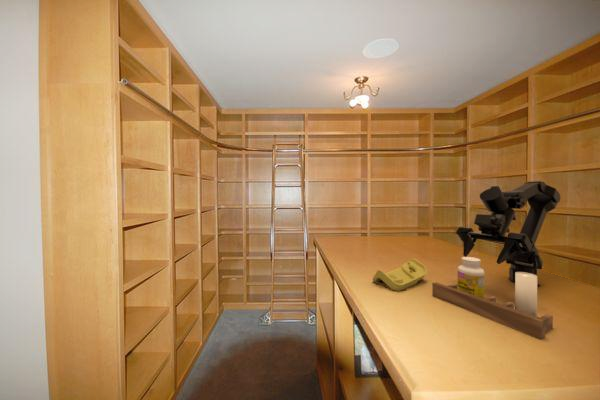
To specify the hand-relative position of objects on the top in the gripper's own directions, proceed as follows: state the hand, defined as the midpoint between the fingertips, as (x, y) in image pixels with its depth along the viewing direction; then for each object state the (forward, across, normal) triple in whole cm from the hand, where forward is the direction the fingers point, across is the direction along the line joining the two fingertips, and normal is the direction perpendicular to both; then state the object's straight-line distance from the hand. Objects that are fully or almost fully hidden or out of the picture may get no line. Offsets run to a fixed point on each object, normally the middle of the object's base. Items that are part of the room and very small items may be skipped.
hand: (480, 259), depth 73 cm
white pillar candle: (+12, +13, +4) cm, 19 cm away
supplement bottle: (+12, 0, +5) cm, 13 cm away
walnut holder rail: (+14, +5, +3) cm, 15 cm away
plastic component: (+17, -20, +1) cm, 26 cm away
